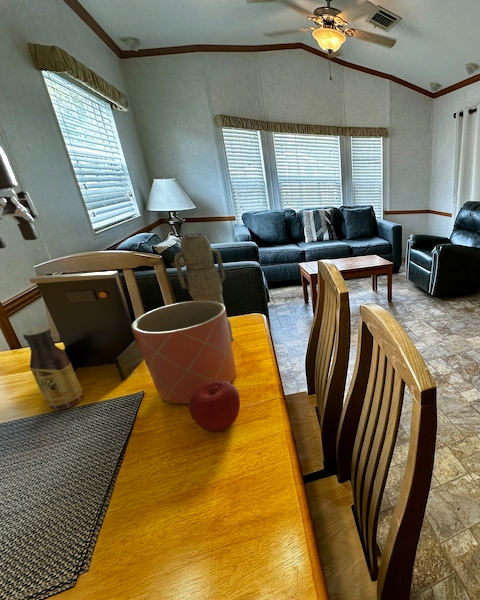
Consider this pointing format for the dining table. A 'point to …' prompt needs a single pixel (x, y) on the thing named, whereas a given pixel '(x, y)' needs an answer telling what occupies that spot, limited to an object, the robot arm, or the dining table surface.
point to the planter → (185, 347)
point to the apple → (215, 405)
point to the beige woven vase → (201, 270)
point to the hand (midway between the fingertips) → (15, 243)
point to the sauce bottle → (52, 370)
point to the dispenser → (91, 320)
